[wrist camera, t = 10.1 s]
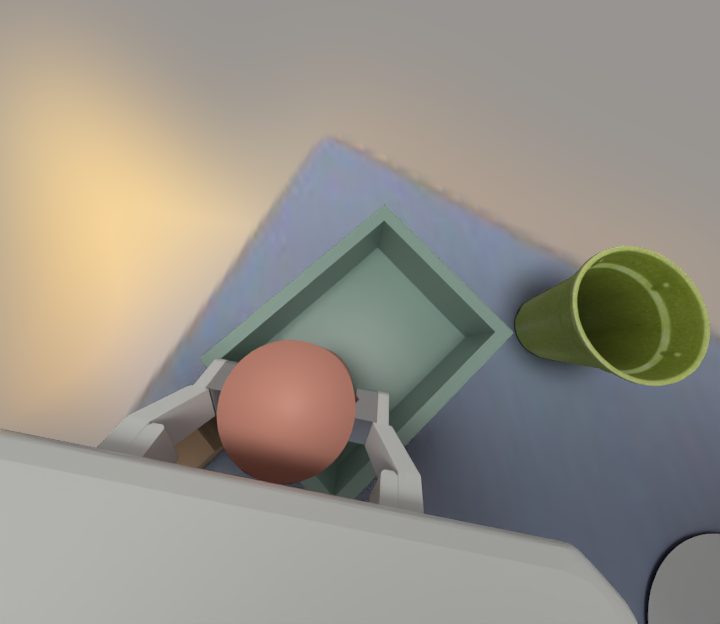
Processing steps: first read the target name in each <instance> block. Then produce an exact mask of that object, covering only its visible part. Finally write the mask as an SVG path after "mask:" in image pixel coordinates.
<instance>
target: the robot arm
mask: <svg viewBox="0 0 720 624" xmlns="http://www.w3.org/2000/svg"><path fill="white" fill-rule="evenodd" d="M237 364H238V362H233V361H229V360H225V359H220V358H217V359H215V360H214V361H213V362H212V363H211V364H210V365H209V367H208V368H207V369H206V370H205V372H204V373H203V374H202V375H201V376H200V378H199V379H198V380H197V381H196V382H195V384H194V385H193V386H192V385H189V386H187V387H185V388H183V389H181V390H179V391H177V392H175V393H173V394H171V395H169V396H167V397H165V398H163V399H161V400H159V401H157V402H155V403H153V404H151V405H149V406H147V407H145V408H143V409H141V410H138V411H136V412H134V413H132V414H130V415H128V416H127V417H126V418H125V419H124V420H123V421H122V422H121V423H120V424H119V425H118V426H117V427H116V428H115V429H114V430H113V431H112V432H111V433H110V434H109V435H108V436H107V437H106V438H105V439H104V440H103V441H102V442H101V443H100V445H98V447H97V448H95V447H90V446H85V445H80V444H75V443H70V442H65V441H60V440H55V439H49V438H45V437H40V436H35V435H30V434H24V433H20V432H15V431H10V430H4V429H0V624H638V622H637V620H636V618H635V617H634V615H633V613H632V611H631V610H630V608H629V606H628V605H627V603H626V602H625V600H624V599H623V598H622V597H621V596H620V594H619V593H618V592H617V591H616V590H615V589H614V587H613V586H612V585H611V584H610V583H609V582H608V581H607V580H606V578H605V577H604V576H603V575H602V574H601V573H600V572H599V571H598V570H597V569H596V567H595V566H594V565H593V564H592V563H591V562H590V561H589V560H588V559H587V558H586V557H585V556H584V555H583V554H582V553H581V552H580V551H579V550H578V549H577V548H576V547H575V546H573V545H571V544H569V543H566V542H563V541H560V540H555V539H549V538H544V537H539V536H534V535H529V534H524V533H519V532H514V531H509V530H504V529H499V528H494V527H489V526H484V525H479V524H474V523H469V522H464V521H459V520H454V519H449V518H444V517H439V516H434V515H429V514H424V508H423V496H422V484H421V475H420V474H419V472H418V470H417V469H416V467H415V465H414V463H413V462H412V460H411V458H410V456H409V455H408V453H407V451H406V450H405V448H404V446H403V444H402V443H401V441H400V439H399V438H398V436H397V434H396V432H395V431H394V429H393V427H392V426H389V394H388V393H385V392H380V391H377V390H371V389H366V388H361V387H357V389H356V393H355V409H356V411H355V421H354V425H353V429H352V432H351V435H350V437H349V440H348V441H351V442H355V443H359V444H364V445H365V448H366V451H367V453H368V456H369V458H370V461H371V463H372V466H373V468H374V471H375V473H376V476H377V478H378V479H377V481H376V483H375V485H374V487H373V489H372V491H371V493H370V495H369V500H368V502H364V501H359V500H354V499H350V498H345V497H340V496H335V495H330V494H325V493H320V492H315V491H310V490H305V489H300V488H295V487H290V486H285V485H280V484H275V483H270V482H265V481H260V480H255V479H250V478H245V477H240V476H235V475H230V474H225V473H220V472H215V471H210V470H205V469H200V468H195V467H190V466H185V465H180V464H176V462H177V461H178V459H179V457H178V454H177V452H176V450H175V448H174V445H176V444H177V443H179V442H180V441H181V440H183V439H184V438H185V437H187V436H188V435H190V434H191V433H192V432H194V431H195V430H196V429H198V428H199V427H201V426H202V425H203V424H205V423H206V422H207V421H209V420H210V419H212V418H213V417H214V416H215V415H217V406H218V401H219V396H220V393H221V390H222V387H223V385H224V383H225V381H226V379H227V377H228V376H229V374H230V373H231V371H232V370H233V369H234V367H235V366H236V365H237ZM648 624H720V534H704V535H699V536H696V537H693V538H690V539H688V540H686V541H684V542H683V543H681V544H680V545H678V546H677V547H676V548H675V549H674V550H672V551H671V552H670V554H669V555H668V556H667V557H666V558H665V560H664V561H663V563H662V564H661V566H660V568H659V570H658V571H657V574H656V576H655V579H654V581H653V584H652V588H651V592H650V598H649V606H648Z"/></svg>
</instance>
